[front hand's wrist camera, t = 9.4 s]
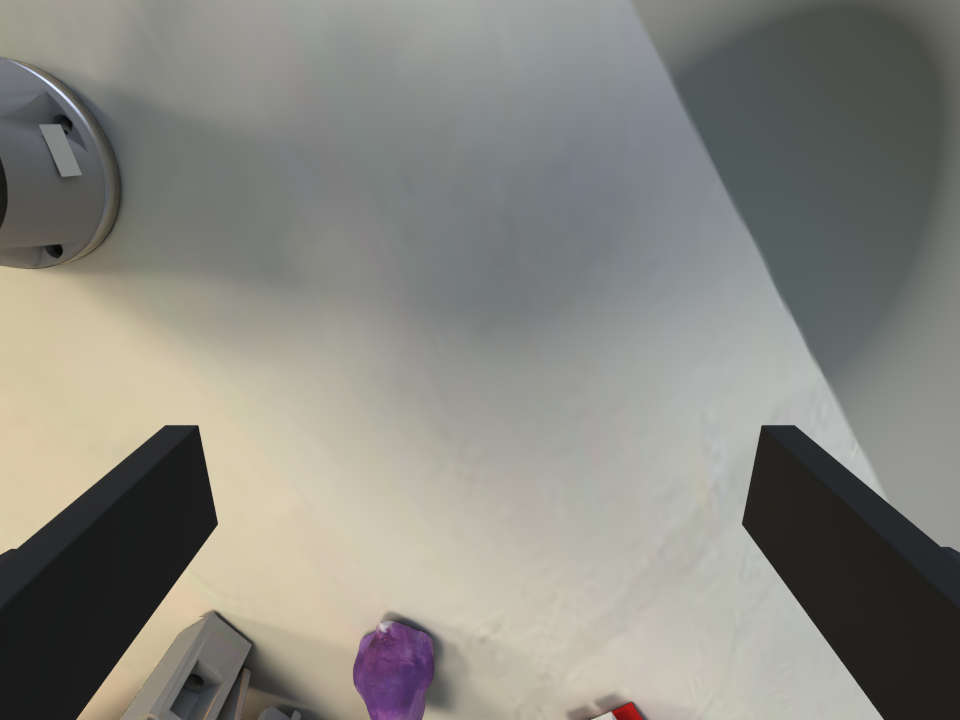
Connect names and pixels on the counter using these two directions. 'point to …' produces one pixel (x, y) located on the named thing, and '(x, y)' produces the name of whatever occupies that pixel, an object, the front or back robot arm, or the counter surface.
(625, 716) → the toy
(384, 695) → the figurine
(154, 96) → the counter surface
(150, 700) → the record storage crate
